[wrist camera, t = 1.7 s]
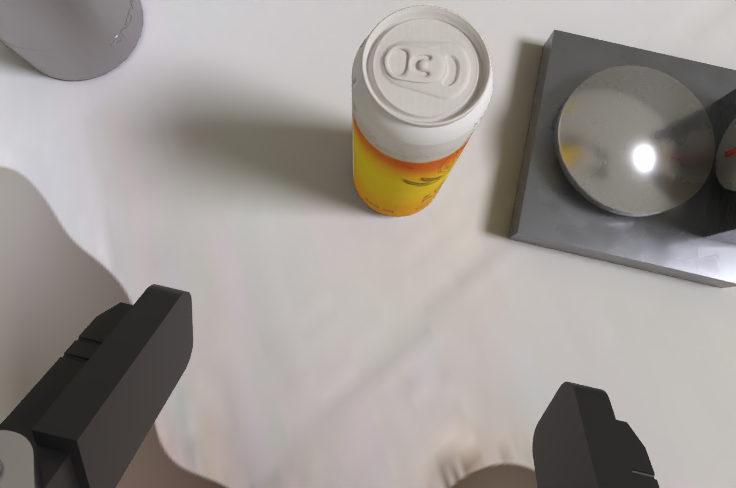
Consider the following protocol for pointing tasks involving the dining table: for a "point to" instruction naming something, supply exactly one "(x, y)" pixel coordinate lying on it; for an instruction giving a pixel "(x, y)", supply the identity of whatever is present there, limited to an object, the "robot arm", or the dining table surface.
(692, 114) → the pan
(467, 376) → the dining table surface
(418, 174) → the beer can
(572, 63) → the scale
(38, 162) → the dining table surface
